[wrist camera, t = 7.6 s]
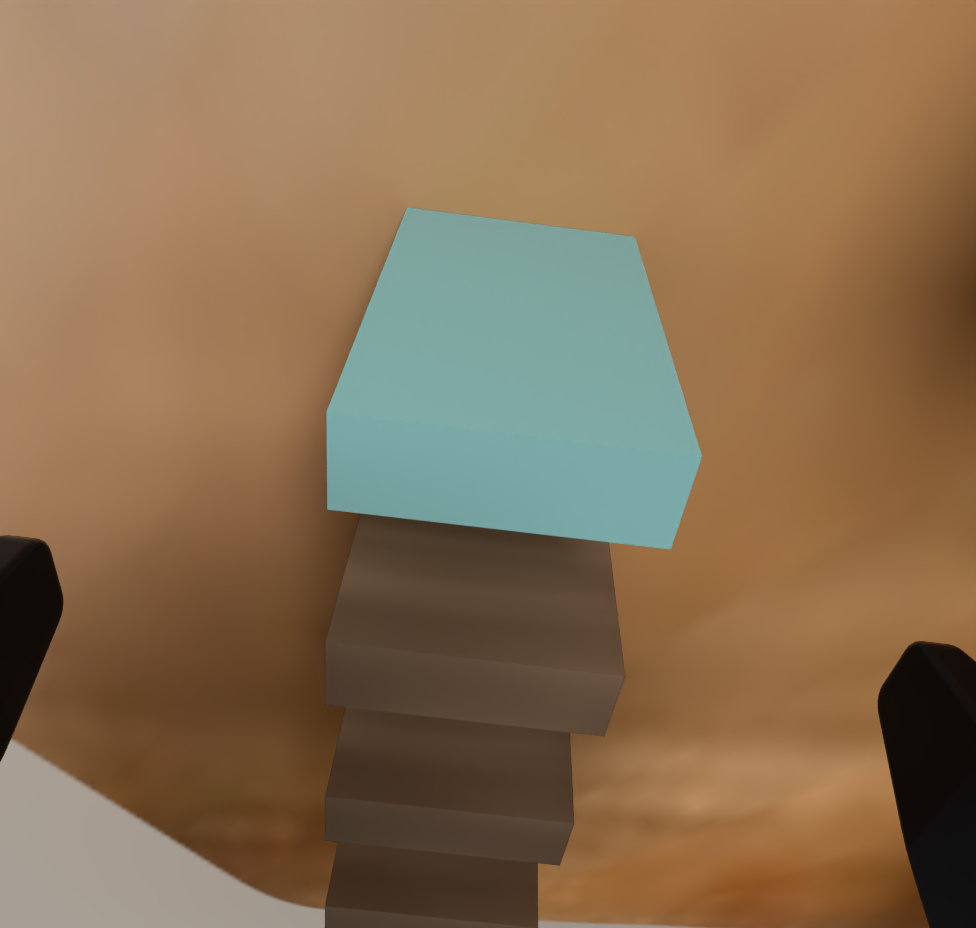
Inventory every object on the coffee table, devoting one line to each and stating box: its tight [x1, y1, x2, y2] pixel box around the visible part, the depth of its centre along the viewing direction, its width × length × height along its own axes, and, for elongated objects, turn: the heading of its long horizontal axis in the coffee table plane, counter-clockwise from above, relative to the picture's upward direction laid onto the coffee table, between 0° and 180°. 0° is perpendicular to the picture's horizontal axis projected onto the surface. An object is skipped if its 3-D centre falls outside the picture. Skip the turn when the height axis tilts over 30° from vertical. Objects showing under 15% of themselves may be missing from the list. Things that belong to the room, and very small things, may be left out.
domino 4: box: [325, 842, 538, 928], centre depth 21 cm, size 2×5×8 cm, turn 82°
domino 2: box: [325, 514, 625, 736], centre depth 16 cm, size 2×5×8 cm, turn 83°
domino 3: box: [325, 707, 574, 865], centre depth 19 cm, size 2×5×8 cm, turn 83°
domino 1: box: [327, 208, 702, 549], centre depth 14 cm, size 2×5×8 cm, turn 84°
